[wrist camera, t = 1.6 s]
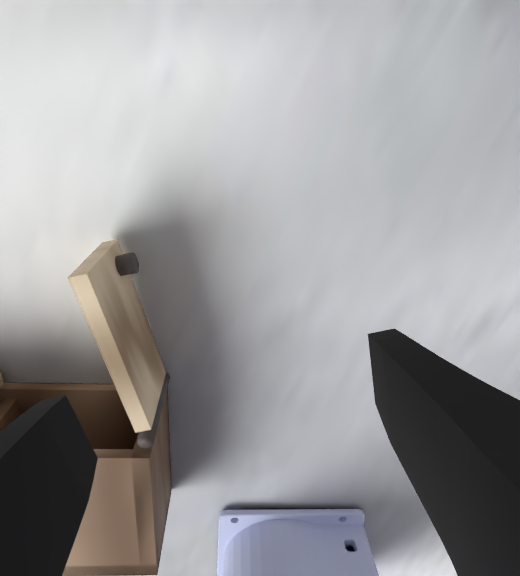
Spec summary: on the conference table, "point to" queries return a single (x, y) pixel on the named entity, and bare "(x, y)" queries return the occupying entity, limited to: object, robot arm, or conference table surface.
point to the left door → (123, 335)
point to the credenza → (110, 479)
